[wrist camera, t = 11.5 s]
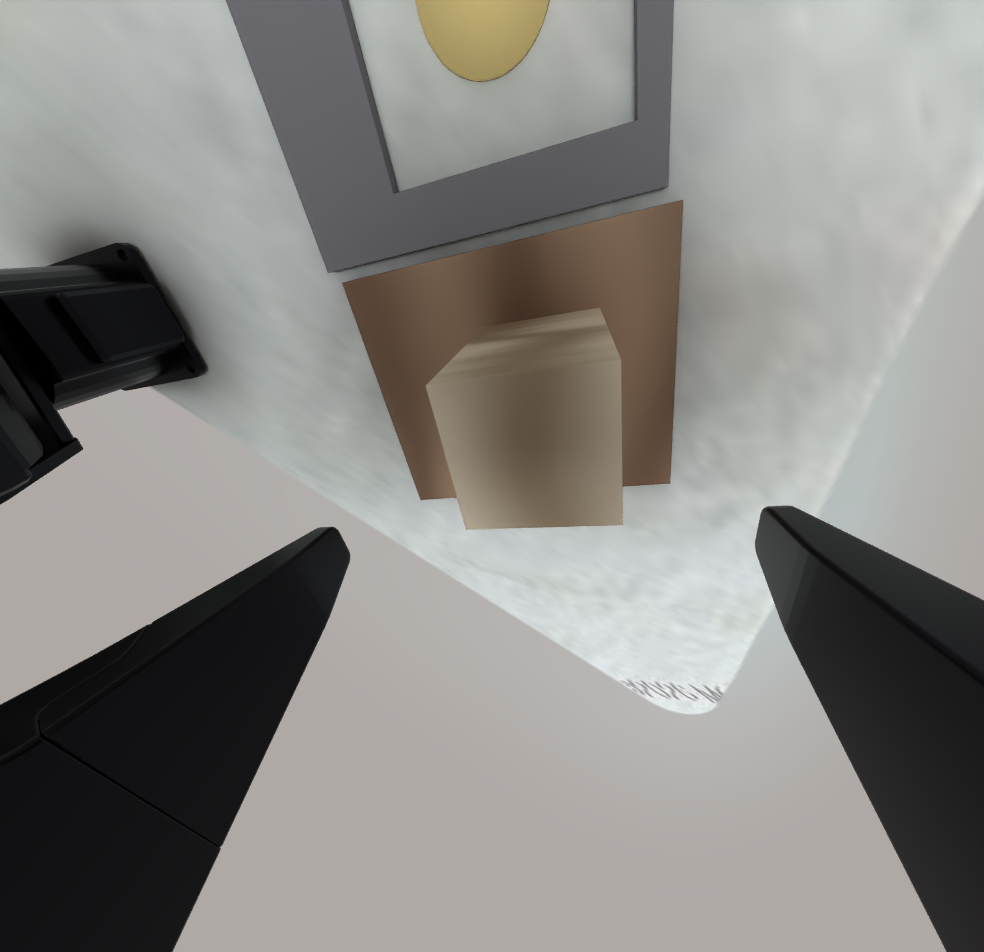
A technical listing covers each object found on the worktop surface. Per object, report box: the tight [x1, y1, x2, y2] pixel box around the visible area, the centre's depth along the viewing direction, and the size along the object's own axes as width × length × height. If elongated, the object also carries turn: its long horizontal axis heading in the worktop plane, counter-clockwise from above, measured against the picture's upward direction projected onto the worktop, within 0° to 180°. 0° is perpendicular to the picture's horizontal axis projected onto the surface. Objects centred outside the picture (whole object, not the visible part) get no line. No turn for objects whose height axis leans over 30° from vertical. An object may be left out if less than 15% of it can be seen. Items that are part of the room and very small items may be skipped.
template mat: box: [226, 0, 674, 273], centre depth 12 cm, size 14×12×1 cm
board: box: [342, 200, 683, 500], centre depth 18 cm, size 14×12×1 cm
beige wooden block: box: [426, 308, 623, 529], centre depth 14 cm, size 5×5×8 cm
